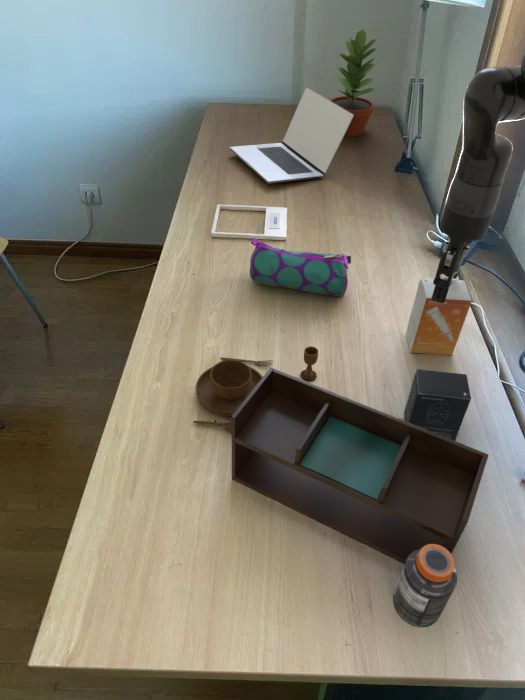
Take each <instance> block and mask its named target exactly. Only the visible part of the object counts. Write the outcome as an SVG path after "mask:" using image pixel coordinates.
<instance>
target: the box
mask: <svg viewBox="0 0 525 700" xmlns="http://www.w3.org/2000/svg"><path fill="white" fill-rule="evenodd" d="M469 385H470V384H469V380H468V375H467V373H457V372H448V371H439V370H432V369H431V370H430V369H422V368H415V372H414V376H413V381H412V383H411V387H410V390H409V394H408V398H407V400H406V403H405V407H404V412H403V420H404V421H406V422H409V423H411V424H414V425H416V426H419V427H421V428H424V429H426V430H429V431H431V432H434V433H436V434H439V435H441V436H444V437H446V438H449V439H451V440H454V441H456V439H457V437H458V434H459V431H460V429H461V426H462V424H463V421H464V418H465V416H466V414H467V411H468V408H469V405H470V403H471V400H472V395H471V390H470V386H469Z"/></svg>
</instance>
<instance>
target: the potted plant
mask: <svg viewBox="0 0 525 700" xmlns="http://www.w3.org/2000/svg"><path fill="white" fill-rule="evenodd" d="M376 41H378V38H377V39H376V38H374V39H371V40H369V42H367V32H366V31H365V30H364V28H361V30H359V31H358V32H356V35H355V39H352V38H351V37H349V40H348V39H346V42H345V45H346V48H347V51H348V53H349V55H346V54H345V53H339V52H337V54H338V55H339V57H341V58H342V59H343V60H344V61H345V62H347V64H346V68H344V67H339V66H336V69H338V71H339V72H340V73H341V74H342V76H343V77H344V78H343V77H340V76H338V77H339V79H338V81H339V82H340V83H341V85H342V86H343V87H344V88H345V91H342V90H340V89H338V91H339V92H340V93H341V94H343V95H341V96H335V97H333V98H331V99H329V100H330V101H332V102H333V103H335V104H337V105H338V106H340V107H342V108H343V109H345V110H347V111H348V112H350V113H352V114H353V115H354V117H353V119H352V121H351V123H350V125H349V127H348V129H347V131H346V133H345V135H344V137H357V136H361V135H363V133H364V132H365V129H366V127H367V124H368V122H369V119H370V117H371V115H372V114H373V113H374V108H375V104H374V102H373V101H371V100H370V99H367V98H365V97H361V95H365V94H369V93H371V92H374V91H376V90H378V88H374V87H368V88H365V89H362V88H363V87H365V86H367V85H369V84H370V83H372V82H374V81H375V79H377V77H374V78H373V77H368V78H365V77H366V76H367V74H368V73H369V72H370V71H372V70H373V68H374V67H375V66H376V65H377V64H378V62H376V63H373V62H374V60H375V57H373V58H372V59H370V60H368V61H366V62H364V63H363V61H364V60H365V59H366V58H367V57H369V56H370V55H371V54H373V53H374V52H376V51H377V50H378V49H379V47H378V48H375V47H373V48H371V49H370V47H371V46H372V45H373V44H375V43H376ZM366 42H367V44H366ZM368 49H369V50H368ZM362 63H363V64H362ZM346 69H347V70H346ZM360 89H361V90H360Z"/></svg>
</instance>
